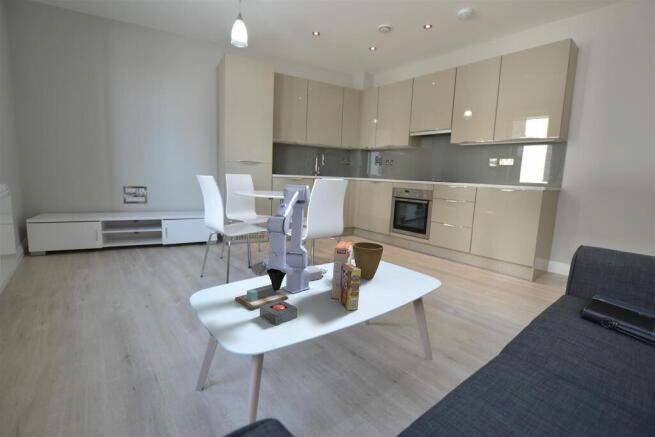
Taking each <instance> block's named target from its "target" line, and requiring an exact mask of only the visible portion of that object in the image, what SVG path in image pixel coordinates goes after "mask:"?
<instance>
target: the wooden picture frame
mask: <svg viewBox="0 0 655 437" xmlns="http://www.w3.org/2000/svg"><path fill="white" fill-rule="evenodd" d="M279 300H283V301H287V300H289V296H287V295H285V294H283V293H280V292H279V291H278V290H277V291H276V294H275V295H272V296H268V297H265V298H262V299H258V300H255V301H250V300H248V299H247V293H246V294H243V295H239V296H236V297H234V301H236V302H237V301H238V303H239V304H241V305H242V306H244V307H245V308H248V309H249V310H251V311H254V310H257V309H260V306H263V305H266V304H269V303H272V302H276V301H279Z"/></svg>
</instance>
